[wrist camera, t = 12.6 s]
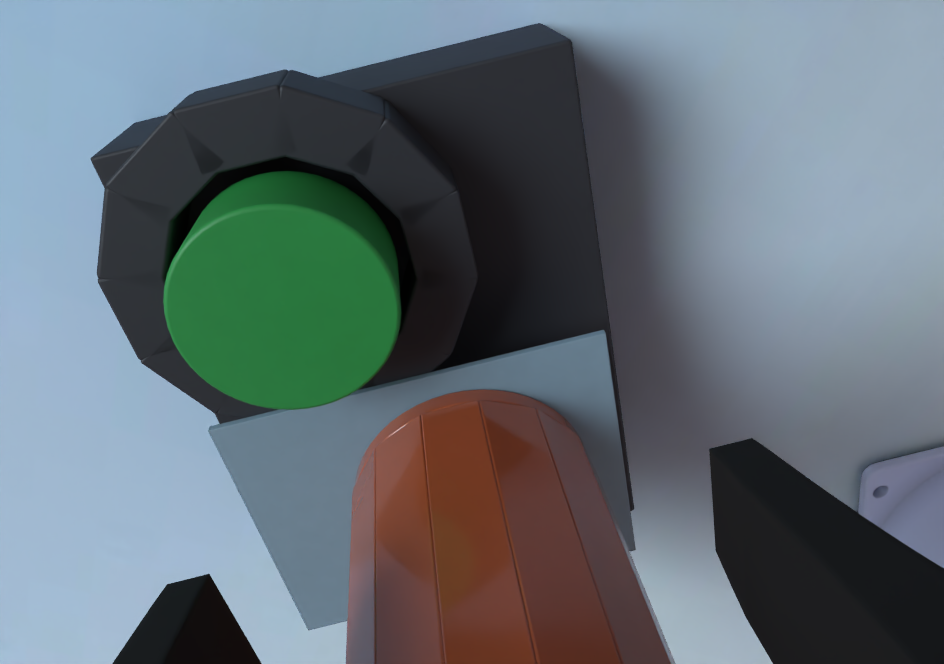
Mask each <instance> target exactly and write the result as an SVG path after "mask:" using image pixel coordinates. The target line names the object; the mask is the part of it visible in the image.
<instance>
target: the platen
mask: <svg viewBox="0 0 944 664" xmlns="http://www.w3.org/2000/svg"><path fill="white" fill-rule="evenodd" d="M478 389H486V390H501V391H508V392H514V393H517V394H521V395H525V396H528V397H530V398H533V399H535V400H538V401H540V402H542V403H544V404H546V405H547V406H549V407H551V408H552V409H554V410H555V411H557V412H558V413H559V414H561V415H562V416H563V417H564V418H565V419H566V420H567V421H568V422H569V423H570V424H571V425H572V426H573V427H574V428H575V430H576V431H577V433H578V434H579V436H580V437H581V439H582V442H583V444H584V446H585V448H586V451H587V453H588V455H589V458H590V460H591V462H592V464H593V466H594V468H595V470H596V472H597V474H598V476H599V479H600V481H601V484H602V486H603V489H604V491H605V493H606V496H607V498H608V501H609V503H610V506H611V508H612V510H613V513H614V515H615V518H616V520H617V523H618V525H619V527H620V530H621V532H622V535H623V537H624V540H625V542H626V544H627V547H628V549H629V551H633V550H635V542H634V534H633V527H632V520H631V513H630V505H629V498H628V491H627V484H626V476H625V469H624V462H623V455H622V447H621V440H620V433H619V425H618V418H617V411H616V404H615V396H614V389H613V382H612V375H611V367H610V360H609V353H608V346H607V338H606V333H605V331H604V330H600V331H596V332H592V333H588V334H584V335H580V336H576V337H572V338H568V339H564V340H560V341H555V342H551V343H547V344H543V345H539V346H535V347H531V348H527V349H523V350H519V351H515V352H511V353H507V354H503V355H499V356H495V357H490V358H486V359H482V360H478V361H474V362H470V363H466V364H462V365H458V366H454V367H450V368H446V369H442V370H438V371H434V372H430V373H425V374H421V375H417V376H413V377H409V378H405V379H401V380H397V381H393V382H389V383H385V384H381V385H377V386H373V387H369V388H364V389H360V390H357V391H355V392H353V393H352V394H350V395H348V396H347V397H344V398H342V399H340V400H337V401H335V402H332V403H329V404H326V405H323V406H319V407H313V408H308V409H297V410H281V409H279V410H275V411H271V412H267V413H263V414H259V415H255V416H251V417H247V418H243V419H239V420H234V421H230V422H226V423H222V424H218V425H214V426H210V427H209V430H208V432H209V434H210V436H211V438H212V440H213V442H214V444H215V446H216V448H217V450H218V451H219V453H220V455H221V457H222V459H223V461H224V463H225V465H226V467H227V469H228V471H229V473H230V475H231V477H232V479H233V481H234V483H235V485H236V487H237V489H238V491H239V493H240V495H241V497H242V499H243V501H244V503H245V505H246V507H247V509H248V511H249V513H250V515H251V517H252V519H253V521H254V523H255V525H256V527H257V529H258V531H259V533H260V535H261V537H262V539H263V541H264V543H265V545H266V547H267V549H268V551H269V553H270V555H271V557H272V559H273V561H274V563H275V565H276V567H277V569H278V571H279V573H280V575H281V577H282V579H283V581H284V583H285V585H286V587H287V589H288V591H289V593H290V595H291V597H292V599H293V601H294V603H295V605H296V607H297V609H298V611H299V613H300V615H301V617H302V619H303V621H304V623H305V625H306V627H307V629H308V630H312V629H316V628H320V627H324V626H328V625H332V624H336V623H340V622H345V621H347V619H348V593H349V567H350V541H351V515H352V492H353V488H354V486H355V479H356V475H357V470H358V467H359V465H360V462H361V460H362V457H363V455H364V454H365V452H366V450H367V448H368V447H369V445H370V444H371V442H372V441H373V440H374V439H375V437H376V436H377V435H378V434H379V432H381V431H382V430H383V429H384V428H385V427H386V426H387V425H388V424H389V423H390V422H391V421H393V420H394V419H395V418H397V417H398V416H399V415H401V414H402V413H404V412H405V411H407V410H409V409H411V408H412V407H414V406H416V405H418V404H420V403H422V402H425V401H427V400H429V399H432V398H435V397H438V396H442V395H445V394H449V393H454V392H459V391H465V390H478Z"/></svg>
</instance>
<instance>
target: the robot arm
mask: <svg viewBox="0 0 944 664" xmlns="http://www.w3.org/2000/svg"><path fill="white" fill-rule="evenodd" d="M709 451H710V467H711V483H712V498H713V514H714V530H715V546H716V552H717V555H718V557H719V559H720V561H721V564H722V566H723V568H724V570H725V573H726V575H727V577H728V579H729V582H730V584H731V586H732V588H733V590H734V593H735V595H736V597H737V599H738V601H739V603H740V605H741V608H742V610H743V612H744V614H745V616H746V618H747V620H748V622H749V623H750V625H751V627H752V628H753V630H754V632H755V634H756V635H757V637H758V639H759V640H760V642H761V644H762V645H763V647H764V649H765V651H766V652H767V654H768V656H769V657H770V659H771V661H772V662H773V664H944V446H942V447H938V448H934V449H930V450H926V451H922V452H918V453H914V454H910V455H906V456H901V457H897V458H893V459H889V460H885V461H881V462H877V463H874V464H871V465H870V466H868V467H867V468H866V469H865V470H864V471H863V473H862V476H861V483H860V495H859V508H858V513H857V512H856V511H854V510H853V509H851V508H850V507H848V506H847V505H845V504H844V503H843V502H841V501H840V500H838V499H837V498H835V497H834V496H833V495H831V494H830V493H828V492H827V491H825V490H824V489H823V488H821V487H820V486H818V485H817V484H816V483H814V482H813V481H811V480H810V479H809V478H807V477H806V476H804V475H803V474H802V473H800V472H799V471H797V470H796V469H795V468H793V467H792V466H791V465H789V464H788V463H786V462H785V461H784V460H782V459H781V458H779V457H778V456H777V455H775V454H774V453H773V452H771V451H770V450H768V449H767V448H766V447H764V446H763V445H762V444H760V443H759V442H757V441H755V440H754V439H752V438H751V439H747V440H743V441H739V442H735V443H731V444H727V445H723V446H719V447H715V448H711V449H709ZM113 664H261V662H260V660H259V659H258V657H257V655H256V653H255V652H254V650H253V648H252V647H251V645H250V643H249V641H248V640H247V638H246V636H245V635H244V633H243V631H242V629H241V628H240V626H239V624H238V623H237V621H236V619H235V617H234V616H233V614H232V612H231V611H230V609H229V607H228V605H227V604H226V602H225V600H224V599H223V597H222V595H221V593H220V592H219V590H218V588H217V586H216V585H215V583H214V581H213V580H212V578H211V576H210V574H207V575H203V576H199V577H195V578H191V579H187V580H183V581H179V582H175V583H171V584H167V585H166V587H165V588H164V590H163V591H162V592H161V594H160V595H159V597H158V598H157V599H156V601H155V602H154V604H153V605H152V606H151V608H150V609H149V611H148V612H147V614H146V615H145V617H144V618H143V620H142V621H141V622H140V624H139V625H138V627H137V628H136V630H135V631H134V633H133V634H132V636H131V637H130V639H129V640H128V642H127V643H126V645H125V646H124V648H123V649H122V651H121V652H120V653H119V655H118V656H117V658H116V659H115V661H114V662H113Z"/></svg>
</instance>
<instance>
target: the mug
mask: <svg viewBox="0 0 944 664" xmlns="http://www.w3.org/2000/svg"><path fill="white" fill-rule="evenodd" d="M346 664H675V661H674V659H673V656H672V654H671V651H670V649H669V647H668V644H667V642H666V639H665V637H664V634H663V632H662V630H661V627H660V625H659V622H658V620H657V617H656V615H655V613H654V610H653V608H652V605H651V603H650V600H649V598H648V596H647V593H646V591H645V588H644V586H643V583H642V581H641V579H640V576H639V574H638V571H637V569H636V566H635V564H634V561H633V559H632V557H631V554H630V552H629V549H628V547H627V544H626V542H625V540H624V537H623V535H622V532H621V530H620V527H619V525H618V523H617V520H616V518H615V515H614V513H613V510H612V508H611V506H610V503H609V501H608V498H607V496H606V493H605V491H604V489H603V486H602V484H601V481H600V479H599V476H598V474H597V472H596V470H595V468H594V466H593V464H592V462H591V460H590V458H589V455H588V453H587V451H586V448H585V446H584V444H583V442H582V439H581V437H580V436H579V434H578V433H577V431H576V430H575V428H574V427H573V426H572V425H571V424H570V423H569V422H568V421H567V420H566V419H565V418H564V417H563V416H562V415H561V414H559V413H558V412H557V411H555V410H554V409H552V408H551V407H549V406H547V405H546V404H544V403H542V402H540V401H538V400H535V399H533V398H530V397H528V396H525V395H521V394H517V393H514V392H508V391H501V390H486V389H478V390H465V391H459V392H454V393H449V394H445V395H442V396H438V397H435V398H432V399H429V400H427V401H425V402H422V403H420V404H418V405H416V406H414V407H412V408H411V409H409V410H407V411H405V412H404V413H402V414H401V415H399V416H398V417H397V418H395V419H394V420H393V421H391V422H390V423H389V424H388V425H387V426H386V427H385V428H384V429H383V430H382V431H381V432H379V434H378V435H377V436H376V437H375V439H374V440H373V441H372V442H371V444H370V445H369V447H368V448H367V450H366V452H365V454H364V455H363V457H362V460H361V462H360V465H359V467H358V470H357V475H356V479H355V486H354V488H353V492H352V515H351V541H350V567H349V593H348V619H347V645H346Z"/></svg>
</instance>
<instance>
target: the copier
mask: <svg viewBox="0 0 944 664" xmlns="http://www.w3.org/2000/svg"><path fill="white" fill-rule="evenodd" d="M91 161H92V163H93V165H94V167H95V169H96V171H97V173H98V176H99V178H100V180H101V182H102V184H103V186H104V188H105V191H104V201H103V212H102V223H101V234H100V245H99V256H98V266H97V276H98V283H99V285H100V287H101V289H102V291H103V293H104V295H105V296H106V298H107V300H108V302H109V304H110V306H111V308H112V310H113V312H114V313H115V315H116V317H117V319H118V321H119V323H120V325H121V327H122V328H123V330H124V332H125V334H126V336H127V338H128V340H129V342H130V344H131V345H132V347H133V349H134V351H135V353H136V355H137V357H138V358H139V359H140V360H141V363H142V364H144V365H145V366H147V367H148V368H150V369H151V370H152V371H154V372H155V373H157V374H158V375H160V376H161V377H163V378H164V379H166V380H167V381H168V382H170V383H171V384H173V385H174V386H176V387H177V388H179V389H180V390H182V391H183V392H184V393H186V394H187V395H189V396H190V397H192V398H193V399H195V400H196V401H198V402H199V403H201V404H202V405H203V406H205V407H206V408H208V409H209V410H211V411H212V412H214V413H215V415H216V417H217V419H218V421H219V423H220V424H222V423H226V422H230V421H234V420H239V419H243V418H247V417H251V416H255V415H259V414H263V413H267V412H271V411H275V410H279V409H272V408H264V407H260V406H256V405H252V404H248V403H245V402H243V401H240V400H237V399H235V398H233V397H231V396H229V395H226V394H224V393H223V392H221V391H219V390H218V389H216V388H215V387H213V386H211V385H210V384H209V383H207V382H206V381H205V380H204V379H202V378H201V377H200V376H199V375H198V374H197V373H196V372H195V371H194V370H193V369H192V368H191V367H190V366H189V365H188V363H187V362H186V361H185V359H184V358H183V357H182V356H181V354H180V352H179V351H178V349H177V347H176V345H175V344H174V342H173V339H172V337H171V334H170V332H169V330H168V326H167V322H166V318H165V313H164V303H163V298H164V286H165V281H166V276H167V273H168V270H169V268H170V265H171V263H172V260H173V258H174V257H175V255H176V253H177V252H178V250H179V248H180V247H181V245H182V243H183V242H184V240H185V239H186V237H187V235H188V234H189V232H190V230H191V229H192V227H193V226H194V224H195V222H196V221H197V219H198V217H199V216H200V214H201V212H202V211H203V210H204V209H205V207H206V206H207V205H208V204H209V203H210V201H211V200H213V199H214V198H215V197H216V196H217V195H218V194H219V193H220V192H222V191H223V190H225V189H226V188H228V187H229V186H231V185H232V184H234V183H237V182H239V181H241V180H243V179H245V178H248V177H251V176H254V175H258V174H262V173H268V172H276V171H295V172H304V173H309V174H314V175H318V176H321V177H324V178H327V179H330V180H333V181H335V182H337V183H339V184H341V185H343V186H345V187H346V188H348V189H350V190H351V191H353V192H354V193H356V194H357V195H358V196H360V197H361V198H362V199H363V200H364V201H366V202H367V203H368V204H369V205H370V206H371V207H372V209H373V210H374V211H375V212H376V213H377V214H378V216H379V217H380V218H381V220H382V221H383V223H384V224H385V226H386V228H387V230H388V232H389V233H390V235H391V238H392V241H393V243H394V246H395V250H396V255H397V259H398V272H399V286H400V300H401V324H400V329H399V334H398V338H397V341H396V343H395V346H394V348H393V351H392V352H391V354H390V356H389V358H388V360H387V361H386V363H385V364H384V365H383V367H382V368H381V369H380V370H379V372H378V373H377V374H376V375H375V376H374V377H373V378H372V379H371V380H370V381H369V382H367V383H366V384H365V385H364V386H362V387H361V388H360V389H364V388H369V387H373V386H377V385H381V384H385V383H389V382H393V381H397V380H401V379H405V378H409V377H413V376H417V375H421V374H425V373H430V372H434V371H438V370H442V369H446V368H450V367H454V366H458V365H462V364H466V363H470V362H474V361H478V360H482V359H486V358H490V357H495V356H499V355H503V354H507V353H511V352H515V351H519V350H523V349H527V348H531V347H535V346H539V345H543V344H547V343H551V342H555V341H560V340H564V339H568V338H572V337H576V336H580V335H584V334H588V333H592V332H596V331H600V330H604V331H605V333H606V338H607V346H608V353H609V360H610V367H611V375H612V382H613V389H614V396H615V404H616V411H617V418H618V425H619V433H620V440H621V447H622V455H623V462H624V469H625V476H626V484H627V491H628V498H629V505H630V511H632V510H634V503H633V496H632V488H631V481H630V473H629V466H628V458H627V451H626V443H625V436H624V428H623V421H622V413H621V406H620V399H619V391H618V384H617V376H616V369H615V361H614V354H613V346H612V339H611V331H610V324H609V316H608V309H607V301H606V294H605V286H604V279H603V271H602V264H601V256H600V249H599V241H598V234H597V226H596V219H595V212H594V204H593V197H592V189H591V182H590V174H589V167H588V159H587V152H586V144H585V137H584V129H583V122H582V114H581V107H580V99H579V92H578V84H577V77H576V69H575V62H574V54H573V47H572V42H571V40H570V39H568V38H566V37H565V36H563V35H561V34H559V33H557V32H556V31H554V30H552V29H550V28H548V27H547V26H545V25H543V24H541V23H538V24H534V25H530V26H526V27H522V28H518V29H514V30H510V31H506V32H502V33H498V34H493V35H489V36H485V37H481V38H477V39H473V40H469V41H465V42H461V43H457V44H453V45H449V46H445V47H441V48H437V49H433V50H429V51H425V52H420V53H416V54H412V55H408V56H404V57H400V58H396V59H392V60H388V61H384V62H380V63H376V64H372V65H368V66H364V67H360V68H356V69H351V70H347V71H343V72H339V73H335V74H331V75H327V76H323V77H319V78H317V77H313V76H310V75H307V74H303V73H300V72H297V71H294V70H290V71H288V70H281V71H277V72H273V73H269V74H265V75H261V76H257V77H253V78H249V79H245V80H240V81H236V82H232V83H228V84H224V85H220V86H216V87H212V88H208V89H204V90H200V91H196V92H194V93H193V94H190V95H189V96H187V97H186V98H185V99H184V100H183V101H182V102H181V103H180V104H178V105H177V106H176V107H175V108H174V109H173V110H172V111H171V112H169V114H168V115H165V116H161V117H157V118H153V119H149V120H145V121H141V122H136V123H134V124H133V125H131V126H130V127H129V128H128V129H126V130H125V131H124V132H123V133H121V134H120V135H119V136H118V137H117V138H115V139H114V140H113V141H112V142H110V143H109V144H108V145H107V146H105V147H104V148H103V149H102V150H100V151H99V152H98V153H97V154H95V155H94V156H93V157H92V158H91ZM360 389H358V390H360Z"/></svg>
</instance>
